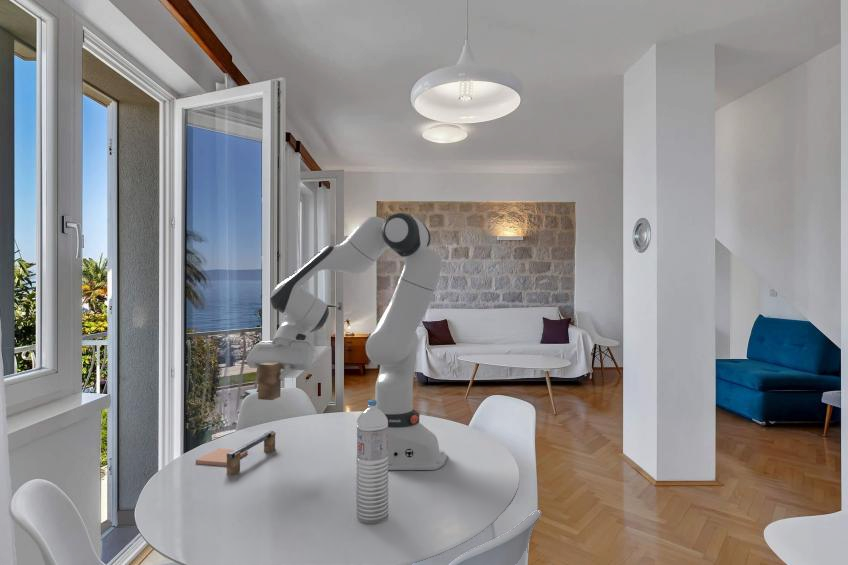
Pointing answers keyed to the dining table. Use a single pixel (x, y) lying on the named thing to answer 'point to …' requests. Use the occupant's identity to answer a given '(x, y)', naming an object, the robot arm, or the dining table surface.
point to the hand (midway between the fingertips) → (269, 379)
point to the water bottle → (372, 465)
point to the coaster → (217, 457)
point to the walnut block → (269, 380)
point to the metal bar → (250, 444)
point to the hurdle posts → (234, 463)
